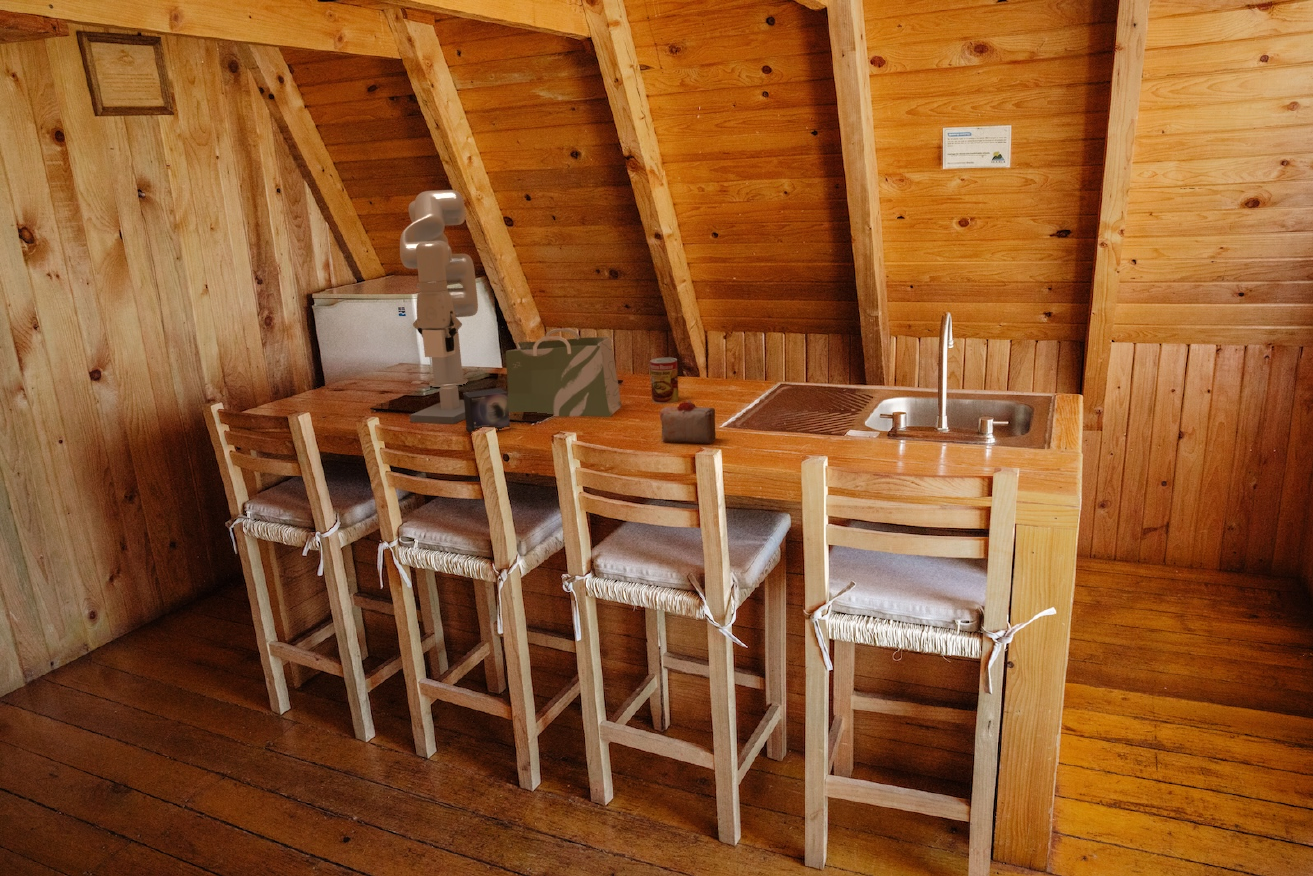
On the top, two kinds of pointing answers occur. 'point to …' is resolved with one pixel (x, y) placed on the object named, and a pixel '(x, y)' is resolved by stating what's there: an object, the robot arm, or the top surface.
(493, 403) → the small box
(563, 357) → the grocery bag
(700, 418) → the food item
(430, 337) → the tan cardboard cube
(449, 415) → the post base
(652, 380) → the canned food
